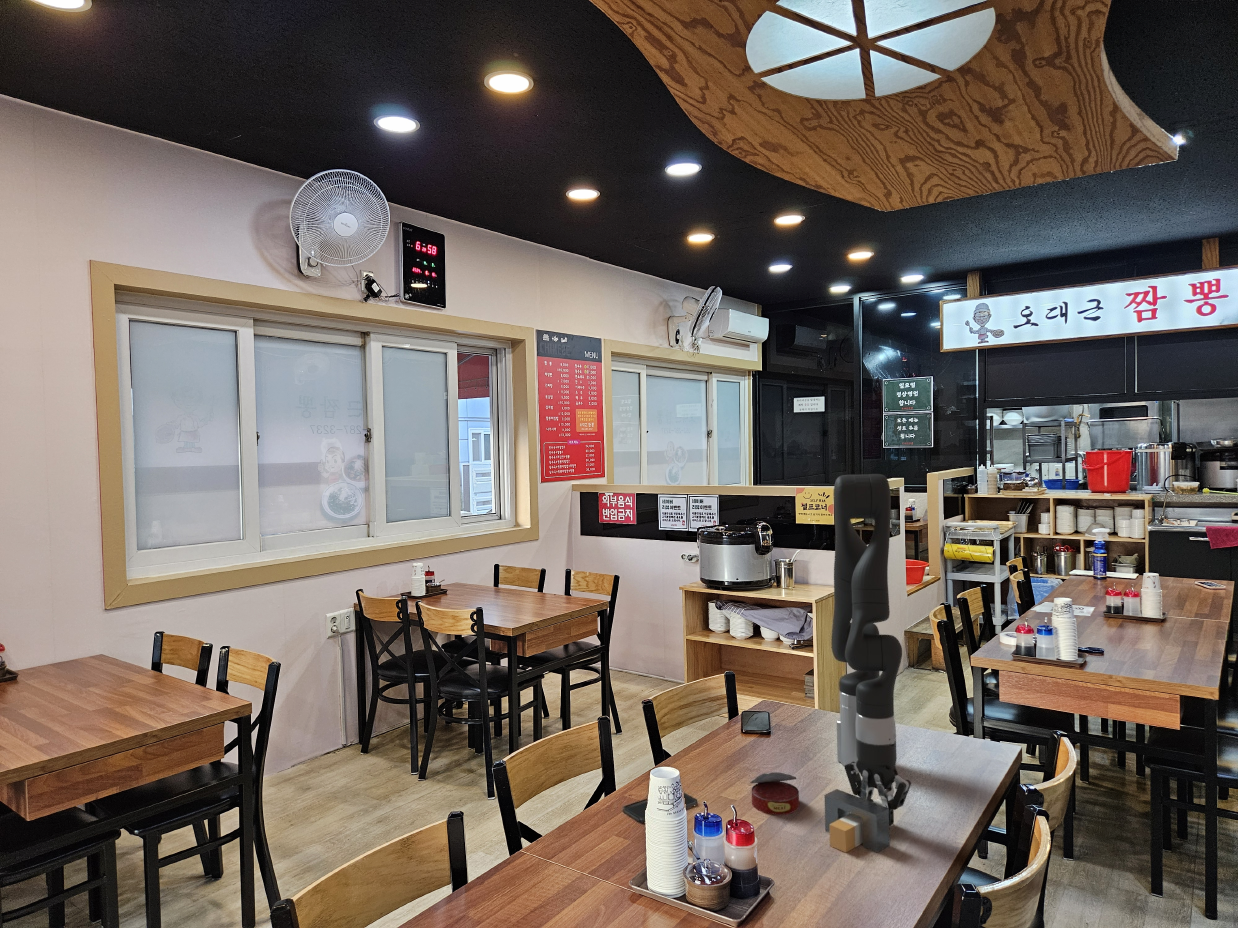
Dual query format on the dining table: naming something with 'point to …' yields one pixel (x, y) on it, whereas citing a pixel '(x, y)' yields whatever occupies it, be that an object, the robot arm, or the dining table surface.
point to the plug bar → (848, 831)
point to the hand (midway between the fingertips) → (878, 822)
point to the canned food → (775, 794)
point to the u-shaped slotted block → (870, 812)
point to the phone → (638, 808)
